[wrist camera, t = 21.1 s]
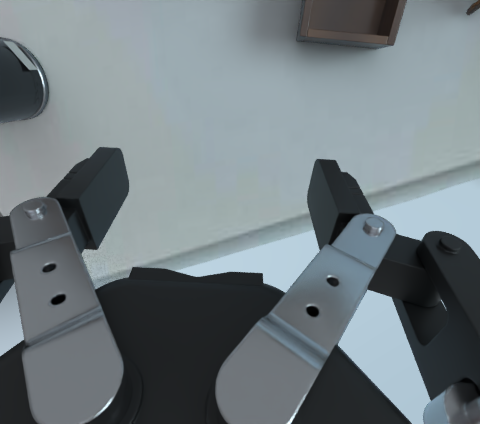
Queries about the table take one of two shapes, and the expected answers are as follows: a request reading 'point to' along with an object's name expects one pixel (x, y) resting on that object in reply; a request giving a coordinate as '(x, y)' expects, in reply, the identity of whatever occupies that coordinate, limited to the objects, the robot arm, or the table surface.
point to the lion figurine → (473, 7)
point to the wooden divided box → (351, 22)
